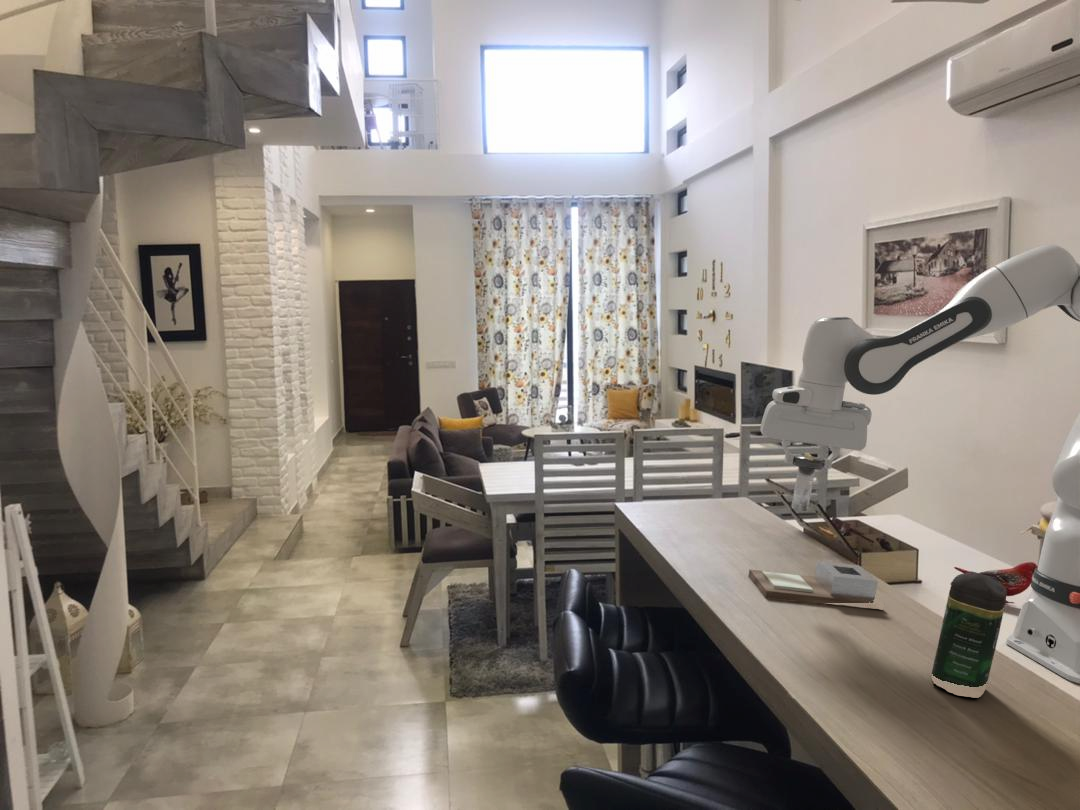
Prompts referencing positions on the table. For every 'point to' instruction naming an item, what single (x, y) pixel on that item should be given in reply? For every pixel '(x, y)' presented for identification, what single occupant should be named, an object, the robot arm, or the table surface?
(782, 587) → the walnut board
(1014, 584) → the decorative bird figurine
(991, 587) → the coffee jar
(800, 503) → the peg
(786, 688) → the table surface
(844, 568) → the grey socket block
